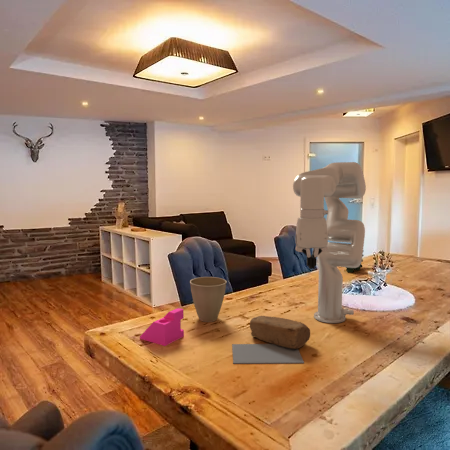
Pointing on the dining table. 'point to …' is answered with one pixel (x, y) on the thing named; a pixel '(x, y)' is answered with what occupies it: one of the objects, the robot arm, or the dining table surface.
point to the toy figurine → (354, 268)
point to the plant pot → (208, 297)
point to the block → (280, 331)
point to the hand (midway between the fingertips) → (311, 267)
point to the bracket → (165, 328)
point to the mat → (264, 354)
